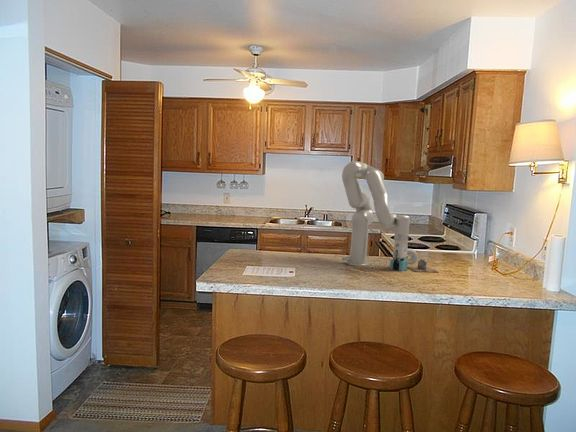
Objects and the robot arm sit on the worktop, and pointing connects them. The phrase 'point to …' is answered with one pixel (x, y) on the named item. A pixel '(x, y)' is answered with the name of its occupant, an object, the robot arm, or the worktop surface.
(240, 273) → the worktop surface
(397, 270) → the stand
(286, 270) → the worktop surface
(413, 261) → the donut
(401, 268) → the collar
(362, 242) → the robot arm
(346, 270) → the worktop surface
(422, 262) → the hub board
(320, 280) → the worktop surface
